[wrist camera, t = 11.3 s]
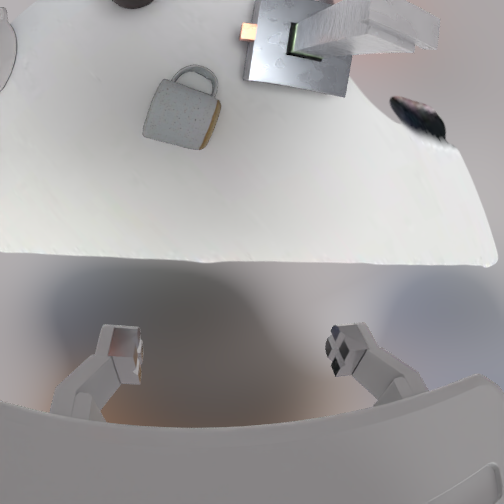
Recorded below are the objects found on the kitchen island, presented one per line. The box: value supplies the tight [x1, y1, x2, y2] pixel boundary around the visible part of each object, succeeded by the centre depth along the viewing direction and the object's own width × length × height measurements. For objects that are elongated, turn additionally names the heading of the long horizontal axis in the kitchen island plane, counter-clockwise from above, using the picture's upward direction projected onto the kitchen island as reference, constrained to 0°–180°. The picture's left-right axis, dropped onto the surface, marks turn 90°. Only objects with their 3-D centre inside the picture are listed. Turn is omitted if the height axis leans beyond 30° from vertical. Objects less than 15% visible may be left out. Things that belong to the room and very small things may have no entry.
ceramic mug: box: [142, 65, 221, 150], centre depth 33 cm, size 11×8×8 cm
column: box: [287, 0, 440, 59], centre depth 21 cm, size 5×4×21 cm
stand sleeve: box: [239, 0, 352, 98], centre depth 31 cm, size 14×12×6 cm
